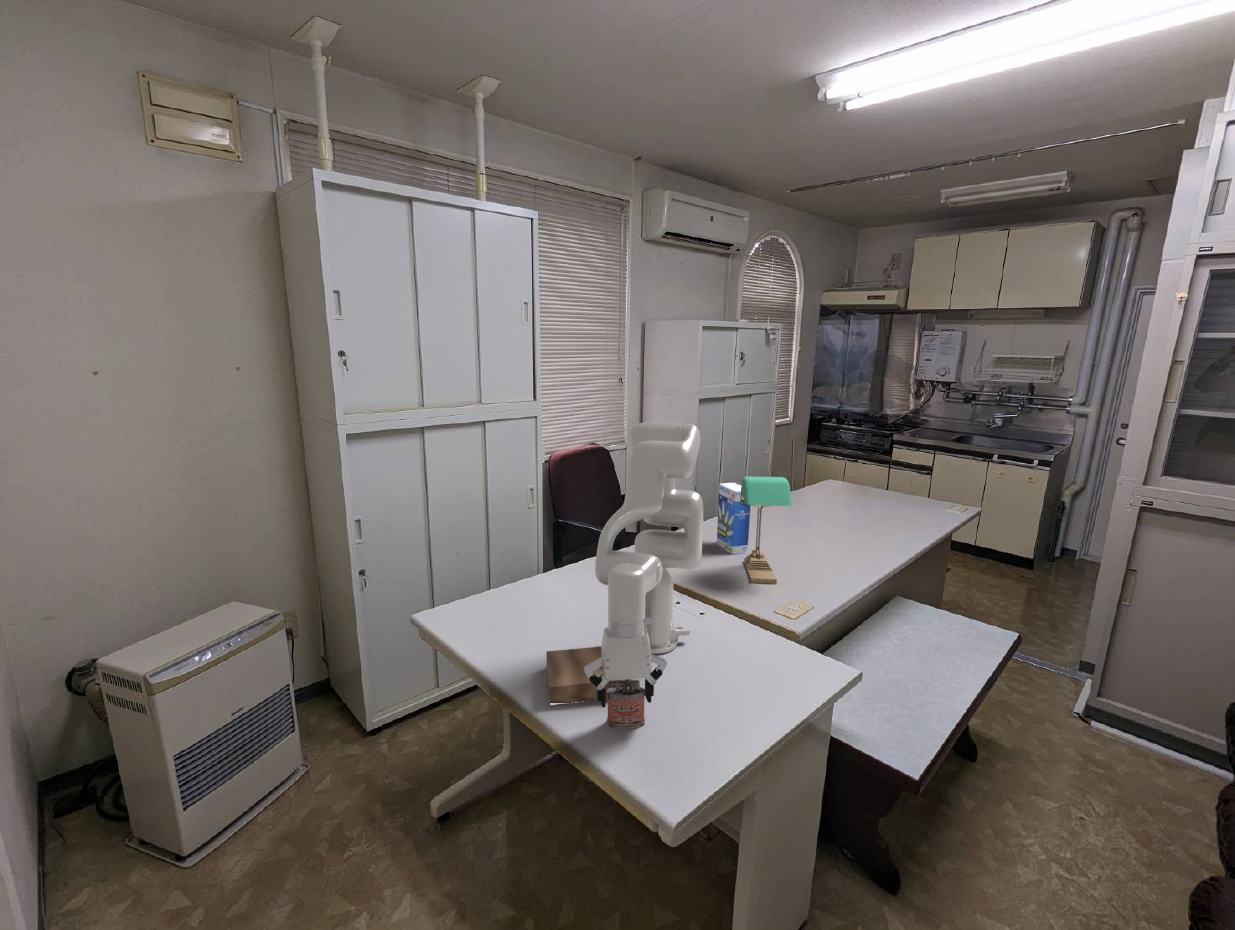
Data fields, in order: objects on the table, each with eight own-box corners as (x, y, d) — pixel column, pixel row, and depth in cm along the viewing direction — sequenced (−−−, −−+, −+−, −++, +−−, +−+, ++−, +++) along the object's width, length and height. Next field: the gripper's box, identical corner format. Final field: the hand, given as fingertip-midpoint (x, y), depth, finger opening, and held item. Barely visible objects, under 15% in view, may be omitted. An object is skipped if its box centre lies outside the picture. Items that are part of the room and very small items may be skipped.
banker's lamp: (776, 563, 204) (782, 472, 197) (788, 586, 183) (795, 485, 176) (734, 561, 205) (738, 471, 198) (741, 584, 185) (746, 484, 178)
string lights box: (716, 543, 224) (718, 483, 219) (732, 542, 227) (735, 482, 222) (731, 554, 212) (734, 490, 207) (749, 552, 214) (752, 489, 209)
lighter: (644, 717, 117) (644, 675, 115) (645, 727, 113) (646, 684, 111) (606, 717, 116) (606, 675, 114) (607, 728, 113) (606, 685, 111)
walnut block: (606, 664, 137) (606, 646, 136) (616, 700, 123) (616, 680, 122) (546, 669, 135) (546, 651, 134) (549, 707, 120) (549, 687, 119)
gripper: (662, 613, 115) (660, 687, 118) (581, 619, 112) (582, 694, 115) (672, 630, 108) (670, 707, 111) (586, 637, 105) (586, 716, 108)
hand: (625, 701), depth 113 cm, fingers open, 9 cm apart
